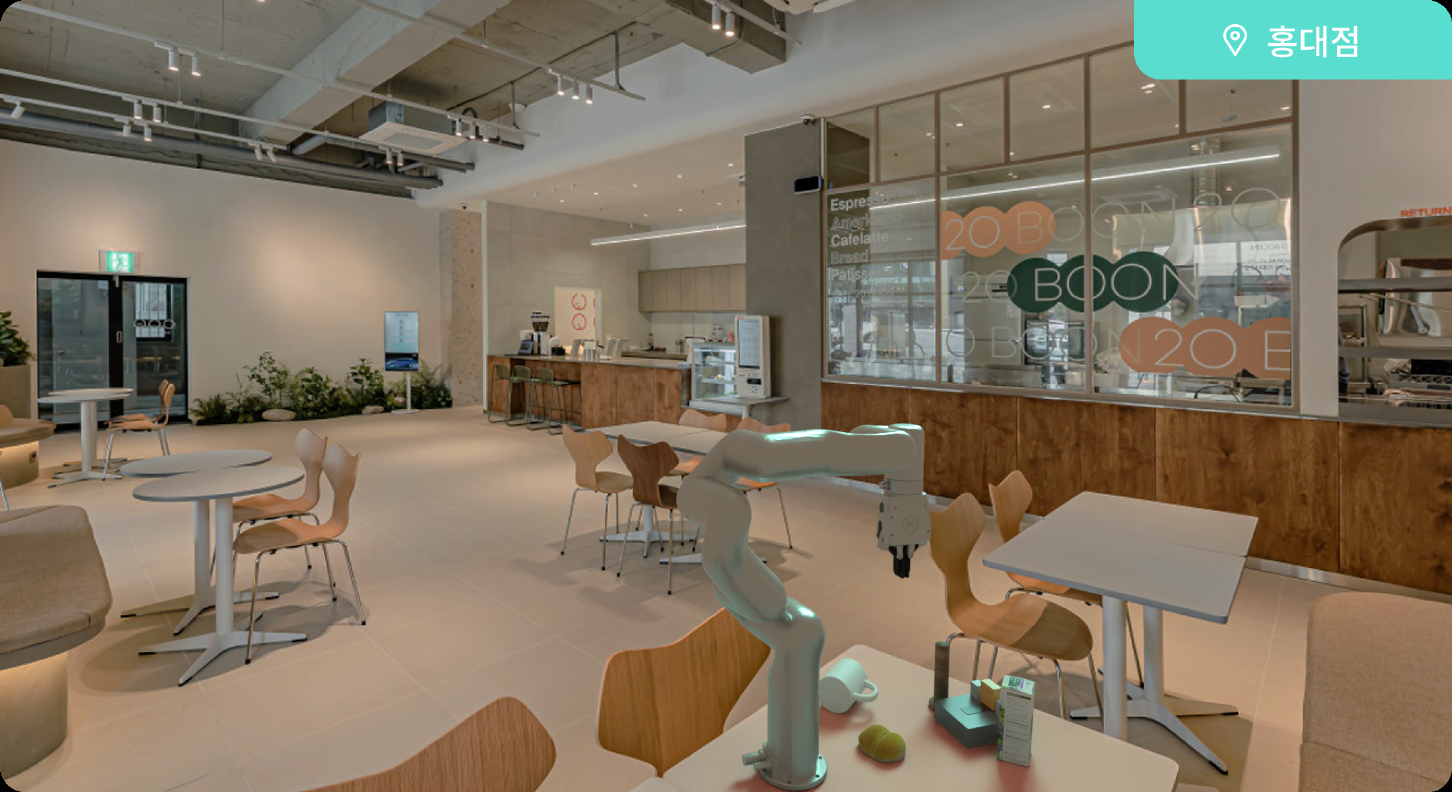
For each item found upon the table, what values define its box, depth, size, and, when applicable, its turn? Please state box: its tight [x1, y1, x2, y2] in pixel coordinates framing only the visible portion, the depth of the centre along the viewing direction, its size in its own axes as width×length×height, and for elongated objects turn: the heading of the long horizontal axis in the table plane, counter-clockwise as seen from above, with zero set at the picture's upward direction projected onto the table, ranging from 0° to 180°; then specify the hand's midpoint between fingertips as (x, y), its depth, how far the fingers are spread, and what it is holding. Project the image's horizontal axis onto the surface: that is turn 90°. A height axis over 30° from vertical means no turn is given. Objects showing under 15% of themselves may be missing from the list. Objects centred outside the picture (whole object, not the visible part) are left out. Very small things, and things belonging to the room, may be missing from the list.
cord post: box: [928, 641, 951, 712], centre depth 148 cm, size 5×5×14 cm
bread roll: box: [857, 724, 907, 763], centre depth 134 cm, size 8×9×4 cm
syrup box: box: [996, 674, 1036, 768], centre depth 131 cm, size 6×6×14 cm
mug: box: [819, 658, 879, 714], centre depth 150 cm, size 12×10×8 cm
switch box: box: [933, 679, 1000, 749], centre depth 141 cm, size 14×11×7 cm
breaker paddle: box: [980, 678, 1001, 711], centre depth 142 cm, size 2×4×4 cm, turn 18°
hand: (901, 575), depth 138 cm, fingers closed
